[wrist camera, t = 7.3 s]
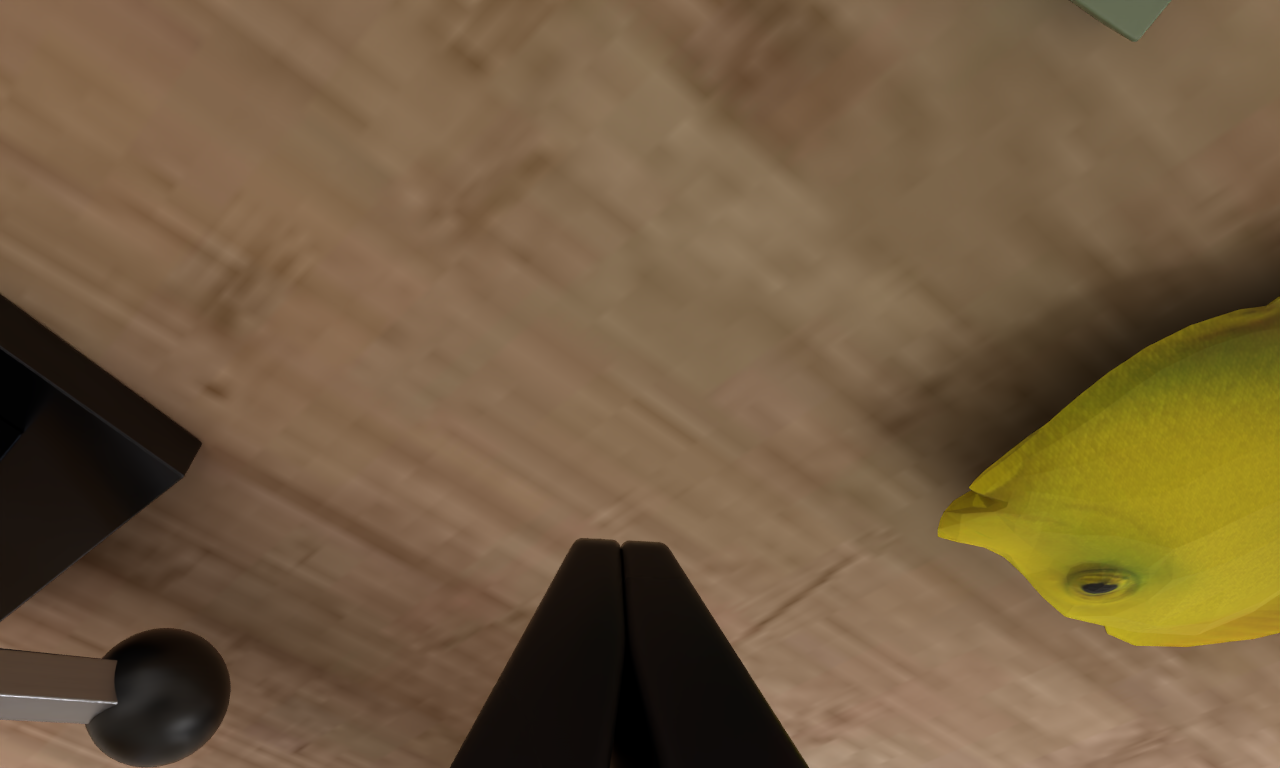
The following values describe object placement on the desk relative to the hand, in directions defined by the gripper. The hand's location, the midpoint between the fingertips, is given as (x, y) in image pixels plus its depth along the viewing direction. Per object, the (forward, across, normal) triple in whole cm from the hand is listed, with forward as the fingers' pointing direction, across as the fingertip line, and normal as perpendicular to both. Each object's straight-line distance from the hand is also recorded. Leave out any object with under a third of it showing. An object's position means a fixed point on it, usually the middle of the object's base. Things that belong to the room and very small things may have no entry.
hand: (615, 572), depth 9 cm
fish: (+10, -14, +1) cm, 17 cm away
